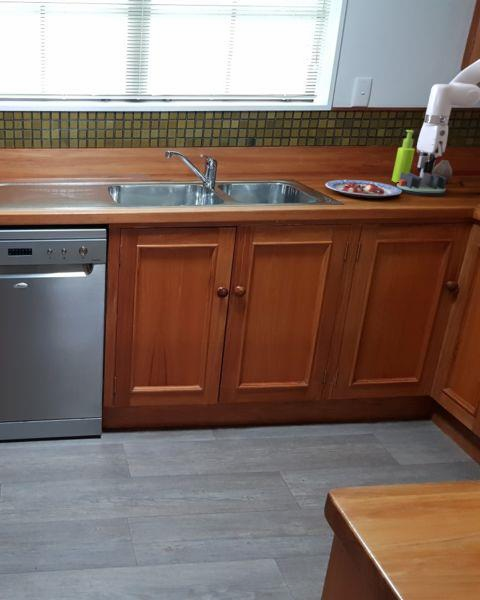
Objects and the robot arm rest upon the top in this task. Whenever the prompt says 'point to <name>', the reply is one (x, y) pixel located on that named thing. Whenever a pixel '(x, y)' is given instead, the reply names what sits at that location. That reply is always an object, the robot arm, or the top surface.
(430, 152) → the robot arm
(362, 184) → the ceramic plate
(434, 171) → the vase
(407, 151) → the soap dispenser
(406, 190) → the turntable base
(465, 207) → the top surface
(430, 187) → the dish rack
